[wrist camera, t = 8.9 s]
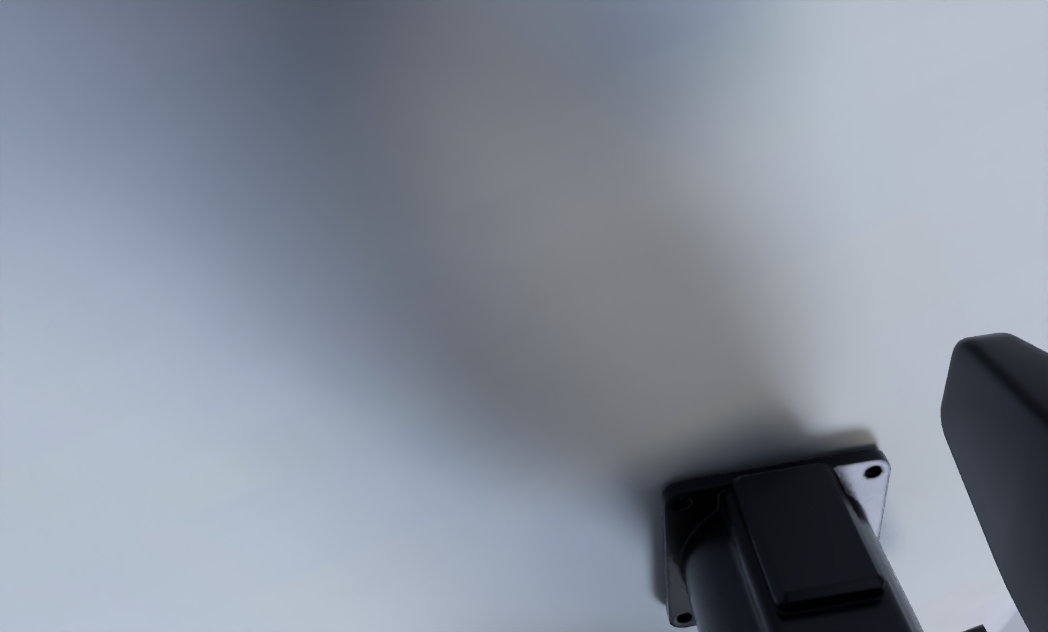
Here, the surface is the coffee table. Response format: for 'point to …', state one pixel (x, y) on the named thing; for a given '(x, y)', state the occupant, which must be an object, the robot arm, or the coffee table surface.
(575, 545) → the coffee table surface
